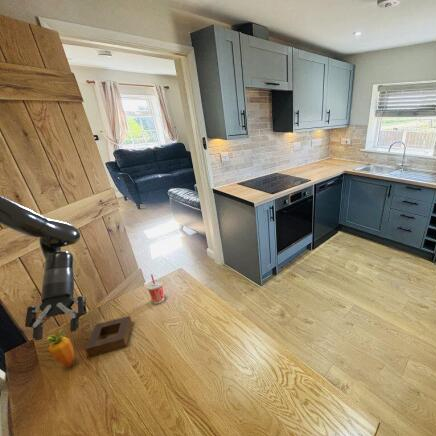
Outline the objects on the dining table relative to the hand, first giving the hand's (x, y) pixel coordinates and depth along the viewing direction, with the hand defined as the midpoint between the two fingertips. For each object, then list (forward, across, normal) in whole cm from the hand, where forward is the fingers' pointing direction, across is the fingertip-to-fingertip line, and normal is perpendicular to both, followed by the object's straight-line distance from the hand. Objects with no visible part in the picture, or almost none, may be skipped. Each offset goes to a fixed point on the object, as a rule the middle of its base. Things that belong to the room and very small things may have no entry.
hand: (56, 335), depth 74 cm
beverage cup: (-6, +24, +25) cm, 35 cm away
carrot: (+10, 0, +9) cm, 14 cm away
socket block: (+5, +10, +14) cm, 18 cm away
